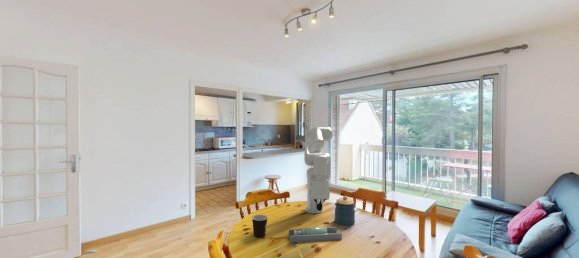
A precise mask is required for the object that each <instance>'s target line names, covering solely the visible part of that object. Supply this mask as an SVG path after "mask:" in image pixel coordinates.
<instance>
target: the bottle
mask: <svg viewBox="0 0 579 258" xmlns="http://www.w3.org/2000/svg"><path fill="white" fill-rule="evenodd" d="M326 227H327V226H312V227H311V226H310V227H307V226H306V227H304V229H303V228H301V229H302V230H300V231H296V230H294V235H311V234H327V228H326Z"/></svg>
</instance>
